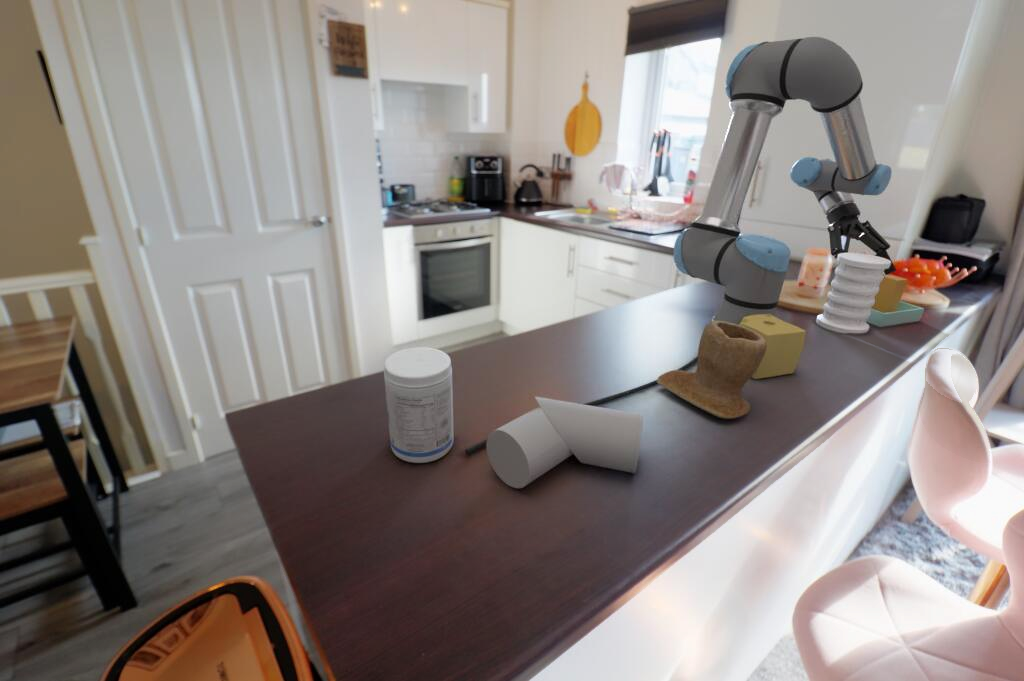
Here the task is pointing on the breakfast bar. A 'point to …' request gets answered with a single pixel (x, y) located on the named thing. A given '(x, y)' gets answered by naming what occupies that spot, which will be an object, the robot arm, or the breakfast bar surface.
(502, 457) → the l-shaped cylinder
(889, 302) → the mustard block
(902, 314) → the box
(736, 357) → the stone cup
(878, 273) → the decorative container
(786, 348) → the cheese
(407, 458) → the supplement tub
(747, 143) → the robot arm
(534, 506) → the breakfast bar surface
